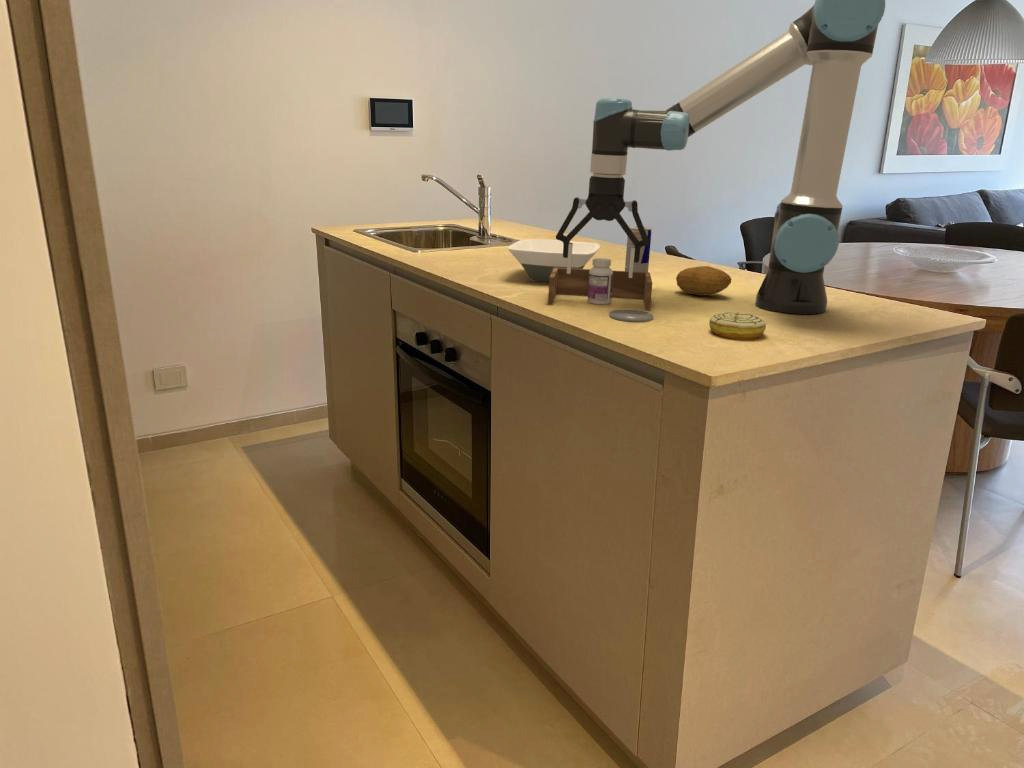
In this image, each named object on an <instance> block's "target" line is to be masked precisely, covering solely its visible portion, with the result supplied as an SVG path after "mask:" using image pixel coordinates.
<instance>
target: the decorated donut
mask: <svg viewBox="0 0 1024 768" xmlns="http://www.w3.org/2000/svg"><path fill="white" fill-rule="evenodd" d="M708 324H709V328H710V331H711V332H712V333H713V334H714V335H717V336H719V337H721V338H726V339H731V338H732V340H742V339H750V340H754V339H758V338H760V337H761V336H762V335H763V334H764V332H765V331H766V329H767V325H768V323H767V322H766V321H765V320H763V319H762V318H760V317H759V316H757V315H754V314H750V313H749V314H748V313H743V312H739V311H738V312H737V311H728V312H723V313H720V312H719V313H716V314H713V315H711V316H710V317H709V323H708Z"/></svg>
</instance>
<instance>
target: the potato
mask: <svg viewBox="0 0 1024 768" xmlns="http://www.w3.org/2000/svg"><path fill="white" fill-rule="evenodd" d="M675 280H676V286H677V287H678V288H679V289H680V290H681V291H683V292H684V293H687V294H691V295H695V296H708V295H714V294H718V293H720V292H722V291H724V290H726V289H727V288H728V287H729V286H730V284H731V283H732V277H731V275H729V274H728V273H727V272H726V271H724V270H722V269H719V268H715V267H712V266H711V265H702V266H701V265H700V266H694V267H688V268H685V269H683V270H680V271H679V272H678V274H677V275H676V277H675Z"/></svg>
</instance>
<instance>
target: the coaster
mask: <svg viewBox="0 0 1024 768" xmlns="http://www.w3.org/2000/svg"><path fill="white" fill-rule="evenodd" d="M609 317H610V319H613V320H616V321H619V322H620V321H621V322H627V323H628V322H629V323H645V322H651V321H653V320H654V314H653V313H651V312H649V311H644V310H641V309H640V310H638V309H625V308H624V309H614V310H611V311H609Z"/></svg>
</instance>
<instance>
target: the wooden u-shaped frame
mask: <svg viewBox="0 0 1024 768" xmlns="http://www.w3.org/2000/svg"><path fill="white" fill-rule="evenodd" d="M590 269H591V268H583V269H574V268H571V273H570V274H567V268H555V267H554V269H553V271H552V273H551V275H550V277H549V282H548V295H547V296H548V297H547V300H548V301H547V303H548V304H547V306H553V305H554V303H555V300H556V297H557V295H568V296H585V297H588V279H589V270H590ZM612 271H613V284H612V298H619V299H620V298H621V299H622V298H623V299H637V300H639V299H640V300H643V305H644V309H645V312H649V311H651V305H652V304H651V303H652V293H653V292H652V291H653V280H652V277H651V272H649V271H648V272H633V274H632V278H629V271H625V270H612Z"/></svg>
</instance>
